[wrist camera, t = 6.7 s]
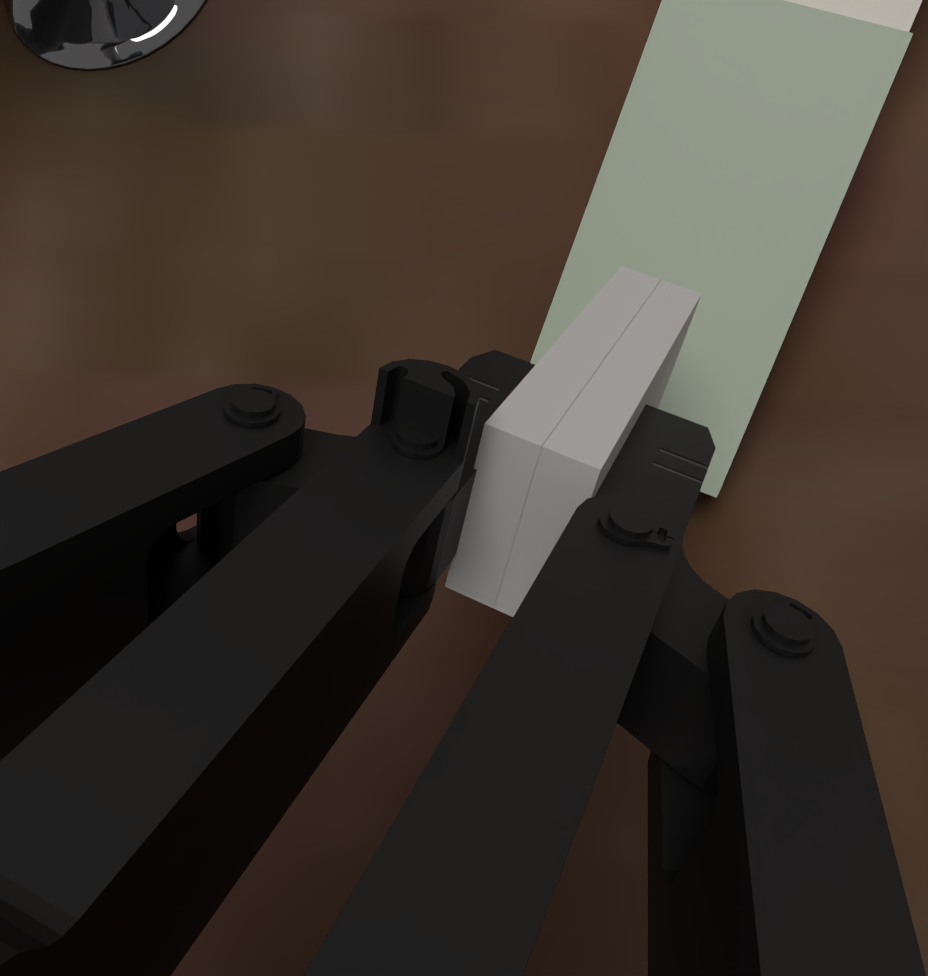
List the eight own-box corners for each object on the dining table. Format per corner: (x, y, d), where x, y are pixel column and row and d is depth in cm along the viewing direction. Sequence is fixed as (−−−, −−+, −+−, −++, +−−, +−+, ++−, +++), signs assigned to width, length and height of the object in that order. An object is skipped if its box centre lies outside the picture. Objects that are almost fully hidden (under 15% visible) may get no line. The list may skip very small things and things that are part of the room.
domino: (716, 497, 19) (913, 33, 17) (509, 417, 20) (672, -28, 18) (716, 489, 21) (897, 62, 19) (524, 415, 22) (675, 4, 20)
